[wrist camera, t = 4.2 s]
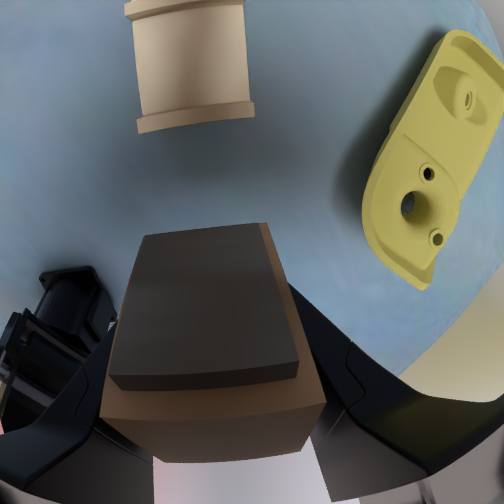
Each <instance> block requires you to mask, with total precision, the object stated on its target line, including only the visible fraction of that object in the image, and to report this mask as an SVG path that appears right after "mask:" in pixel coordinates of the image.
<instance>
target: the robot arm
mask: <svg viewBox="0 0 504 504" xmlns="http://www.w3.org/2000/svg"><path fill="white" fill-rule="evenodd" d="M88 272H89V273H88ZM39 280H40V282H41V284H42V286H43V287H44V289H45V293H44V295H43V297H42V299H41V301H40V303H39V305H38V307H37V309H36V311H35V313H34V315H33V314H32V313H31V311H30V310H28V309H27V308H25V310H24V311H23V313H22V314H21V313H16V312H13V313H12V315H11V317H10V319H9V321H8V323H7V325H6V327H5V330H4V332H3V334H2V336H1V338H0V381H2V384H1V387H0V420H1V424H2V427H3V431H4V434H2V435H0V504H154V484H153V455H152V454H150V453H149V452H147V451H145V450H144V449H142V448H141V447H139V446H138V445H136V444H135V443H134V442H132V441H131V440H129V439H128V438H126V437H125V436H124V435H122V434H121V433H120V432H118V431H117V430H116V429H114V428H113V427H112V426H110V425H109V424H108V423H106V422H105V421H104V420H103V419H101V418H100V417H99V416H100V409H101V402H102V396H103V390H104V384H105V378H106V373H107V368H108V363H109V358H110V353H111V349H112V344H113V340H114V336H115V331H116V327H117V323H118V320H117V314H116V312H115V311H114V308H113V306H112V304H111V302H110V300H109V298H108V296H107V294H106V292H105V290H104V289H103V288H102V285H101V283H100V281H99V279H98V277H97V275H96V273H95V271H94V269H93V268H91V267H82V268H75V269H68V270H61V271H54V272H47V273H42V274H41V275H40V277H39ZM288 285H289V288H290V291H291V294H292V297H293V300H294V303H295V306H296V309H297V312H298V315H299V318H300V321H301V324H302V327H303V330H304V333H305V336H306V339H307V342H308V345H309V348H310V351H311V354H312V357H313V360H314V363H315V366H316V370H317V373H318V376H319V379H320V382H321V385H322V389H323V392H324V395H325V398H326V401H327V402H326V404H325V406H324V408H323V410H322V412H321V414H320V416H319V418H318V420H317V422H316V424H315V426H314V428H313V430H312V431H311V433H310V438H311V441H312V444H313V447H314V450H315V453H316V456H317V459H318V463H319V465H320V468H321V472H322V475H323V478H324V481H325V483H326V487H327V490H328V493H329V495H330V499H331V502H336V501H343V500H349V499H354V498H359V501H360V504H504V394H503V395H501V396H500V397H499V398H497V399H496V400H494V401H490V402H470V401H461V400H453V399H446V398H439V397H432V396H428V395H425V394H422V393H420V392H418V391H416V390H414V389H413V388H411V387H410V386H409V385H407V384H406V383H404V382H403V381H402V380H400V379H399V378H397V377H396V376H395V375H393V374H392V373H390V372H389V371H388V370H386V369H385V368H384V367H382V366H381V365H380V364H378V363H377V362H376V361H374V360H373V359H372V358H371V357H369V356H368V355H367V354H366V353H365V352H364V351H363V350H361V349H360V348H359V347H358V346H357V345H356V344H355V343H354V342H351V340H350V339H349V338H348V337H347V336H346V335H345V334H344V333H343V332H342V331H341V330H339V329H338V328H337V327H336V326H335V325H334V324H333V323H332V322H331V321H330V320H329V319H328V318H326V317H325V316H324V315H323V314H322V313H321V312H320V311H319V310H318V309H317V308H316V307H314V306H313V305H312V304H311V303H310V302H309V301H308V300H307V299H306V298H305V297H304V296H303V295H301V294H300V293H299V292H298V291H297V290H296V289H295V288H294V287H293V286H292V285H291V284H289V283H288ZM116 320H117V321H116ZM115 321H116V322H115ZM110 322H115V323H114V325H113V326H112V327H111V328H110V330H109V331H108V327H109V323H110ZM107 331H108V332H107Z"/></svg>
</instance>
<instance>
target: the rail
mask: <svg viewBox="0 0 504 504" xmlns="http://www.w3.org/2000/svg"><path fill="white" fill-rule="evenodd" d="M244 1H245V0H132V2H129V3H126V4H124V6H125V16H126V17H127V18H129V19H130V20H131V21H132V22H133V37H134V49H135V59H136V68H137V77H138V85H139V93H140V100H141V107H142V113H143V116H142V117H140V118H138V119H137V120H136V121H137V127H138V133H139V134H141V133H146V132H151V131H156V130H161V129H166V128H171V127H177V126H183V125H189V124H196V123H203V122H210V121H218V120H227V119H237V118H248V117H255V111H254V102H252V101H250V93H249V79H248V65H247V51H246V38H245V25H244V12H243V3H244Z"/></svg>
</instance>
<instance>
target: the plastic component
mask: <svg viewBox="0 0 504 504" xmlns="http://www.w3.org/2000/svg"><path fill="white" fill-rule="evenodd" d="M503 113H504V64H503V63H502V62H501V61H500V60H499V59H498V58H497V57H496V56H495V55H494V54H493V53H492V52H491V51H490V50H489V49H488V48H487V47H486V46H485V45H484V44H483V43H482V42H481V41H479V40H478V39H477V38H476V37H475V36H473V35H472V34H470V33H468V32H466V31H463V30H458V29H457V30H451V31H449V32H448V33H447V34H446V35H445V36H444V37H443V38H442V39H441V40H439V41H438V42H437V43H436V44H435V45H434V47H433V49H432V51H431V53H430V55H429V57H428V59H427V61H426V62H425V64H424V66H423V68H422V70H421V72H420V74H419V75H418V77H417V79H416V81H415V83H414V85H413V86H412V88H411V90H410V92H409V94H408V95H407V97H406V99H405V101H404V102H403V104H402V106H401V108H400V109H399V111H398V113H397V115H396V116H395V118H394V120H393V121H392V123H391V125H390V127H389V131H390V133H389V134H388V136H387V138H386V139H385V141H384V143H383V145H382V146H381V148H380V150H379V152H378V154H377V157H376V159H375V162H374V164H373V167H372V169H371V173H370V175H369V178H368V181H367V184H366V187H365V191H364V195H363V200H362V211H361V217H362V225H363V229H364V233H365V236H366V239H367V241H368V243H369V245H370V247H371V249H372V251H373V252H374V253H375V255H376V256H377V257H378V258H379V259H380V260H381V261H382V262H383V263H384V264H385V265H386V266H387V267H388V268H390V269H391V270H392V271H394V272H395V273H396V274H398V275H399V276H401V277H402V278H404V279H405V280H406V281H408V282H409V283H410V284H412V285H413V286H414V287H416V288H417V289H418V290H421V291H423V290H426V288H427V287H428V286H429V284H430V283H431V281H432V277H433V270H434V265H435V260H436V256H437V253H438V252H439V250H440V249H441V248H442V247H443V246H444V245H445V243H446V240H447V239H448V237H449V235H450V234H451V232H452V231H453V229H454V227H455V225H456V223H457V220H458V216H459V210H460V202H461V200H462V199H463V197H464V195H465V193H466V192H467V190H468V188H469V186H470V184H471V182H472V181H473V179H474V177H475V175H476V173H477V171H478V169H479V167H480V165H481V163H482V161H483V159H484V157H485V155H486V153H487V151H488V148H489V146H490V144H491V142H492V139H493V137H494V135H495V132H496V130H497V128H498V125H499V123H500V120H501V117H502V115H503ZM426 168H429V169H430V171H431V177H430V179H428V180H426V179H425V178H424V175H423V173H424V170H425V169H426ZM411 191H412V193H413V195H414V198H415V204H414V207H413V209H412V211H411V212H410V213H408V214H406V215H402V214H401V203H402V200H403V198H404V196H405V195H406V194H407V193H409V192H411Z"/></svg>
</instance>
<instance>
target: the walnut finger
mask: <svg viewBox="0 0 504 504" xmlns="http://www.w3.org/2000/svg"><path fill="white" fill-rule="evenodd" d="M326 402H327V401H326V398H325V395H324V392H323V389H322V385H321V382H320V379H319V376H318V373H317V370H316V366H315V363H314V360H313V357H312V354H311V351H310V348H309V345H308V342H307V339H306V336H305V333H304V330H303V327H302V324H301V321H300V318H299V315H298V312H297V309H296V306H295V303H294V300H293V297H292V294H291V291H290V288H289V285H288V282H287V279H286V277H285V274H284V271H283V268H282V265H281V262H280V259H279V256H278V254H277V251H276V248H275V245H274V242H273V239H272V237H271V234H270V231H269V228H268V225H267V223H250V224H240V225H230V226H221V227H211V228H202V229H193V230H185V231H176V232H168V233H160V234H152V235H145V236H144V237H143V240H142V243H141V246H140V249H139V252H138V255H137V258H136V261H135V264H134V267H133V270H132V273H131V277H130V280H129V283H128V287H127V290H126V293H125V297H124V301H123V304H122V308H121V312H120V315H119V319H118V323H117V327H116V331H115V336H114V340H113V344H112V349H111V353H110V358H109V363H108V368H107V373H106V378H105V384H104V390H103V396H102V402H101V409H100V416H99V417H100V418H101V419H103V420H104V421H105V422H106V423H108V424H109V425H110V426H112V427H113V428H114V429H116V430H117V431H118V432H120V433H121V434H122V435H124V436H125V437H126V438H128V439H129V440H131V441H132V442H134V443H135V444H136V445H138V446H139V447H141V448H142V449H144V450H145V451H147V452H149V453H150V454H152V455H153V456H155V457H157V458H158V459H160V460H162V461H163V462H167V463H207V462H226V461H237V460H248V459H257V458H264V457H271V456H277V455H283V454H289V453H294V452H298V451H301V449H302V447H303V446H304V444H305V442H306V440H307V439H308V437H309V435H310V433H311V431H312V430H313V428H314V426H315V424H316V422H317V420H318V418H319V416H320V414H321V412H322V410H323V408H324V406H325V404H326Z"/></svg>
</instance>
